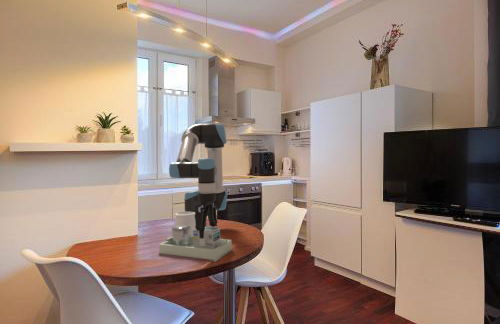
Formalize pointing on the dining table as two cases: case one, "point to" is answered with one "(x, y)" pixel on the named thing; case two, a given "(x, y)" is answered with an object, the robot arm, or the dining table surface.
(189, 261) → the dining table surface
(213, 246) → the light bulb box
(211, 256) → the tray
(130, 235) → the dining table surface
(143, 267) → the dining table surface
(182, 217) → the jar
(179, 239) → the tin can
